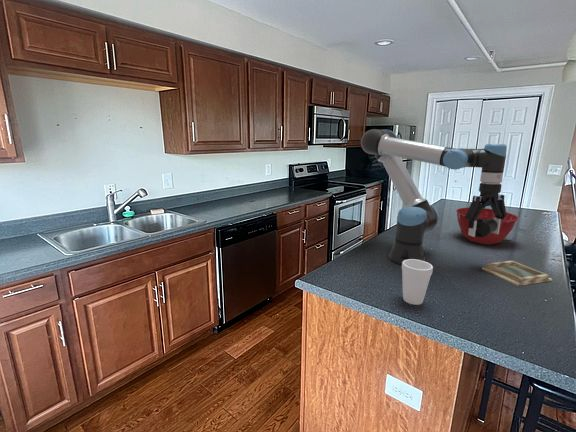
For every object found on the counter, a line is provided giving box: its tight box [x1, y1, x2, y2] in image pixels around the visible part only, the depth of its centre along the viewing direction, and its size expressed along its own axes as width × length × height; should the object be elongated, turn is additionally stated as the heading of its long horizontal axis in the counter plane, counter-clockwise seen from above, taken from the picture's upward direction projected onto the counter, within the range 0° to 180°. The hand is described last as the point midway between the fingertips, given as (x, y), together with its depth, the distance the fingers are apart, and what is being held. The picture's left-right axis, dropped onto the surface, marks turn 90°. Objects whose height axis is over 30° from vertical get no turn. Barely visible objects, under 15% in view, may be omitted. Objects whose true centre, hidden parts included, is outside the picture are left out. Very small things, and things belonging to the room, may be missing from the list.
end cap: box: [475, 218, 497, 238], centre depth 132 cm, size 10×7×7 cm
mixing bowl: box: [455, 207, 519, 246], centre depth 171 cm, size 28×28×15 cm
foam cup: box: [401, 259, 434, 306], centre depth 107 cm, size 10×9×13 cm
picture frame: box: [481, 260, 553, 287], centre depth 130 cm, size 18×16×2 cm
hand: (483, 234), depth 133 cm, fingers closed on end cap, 12 cm apart
